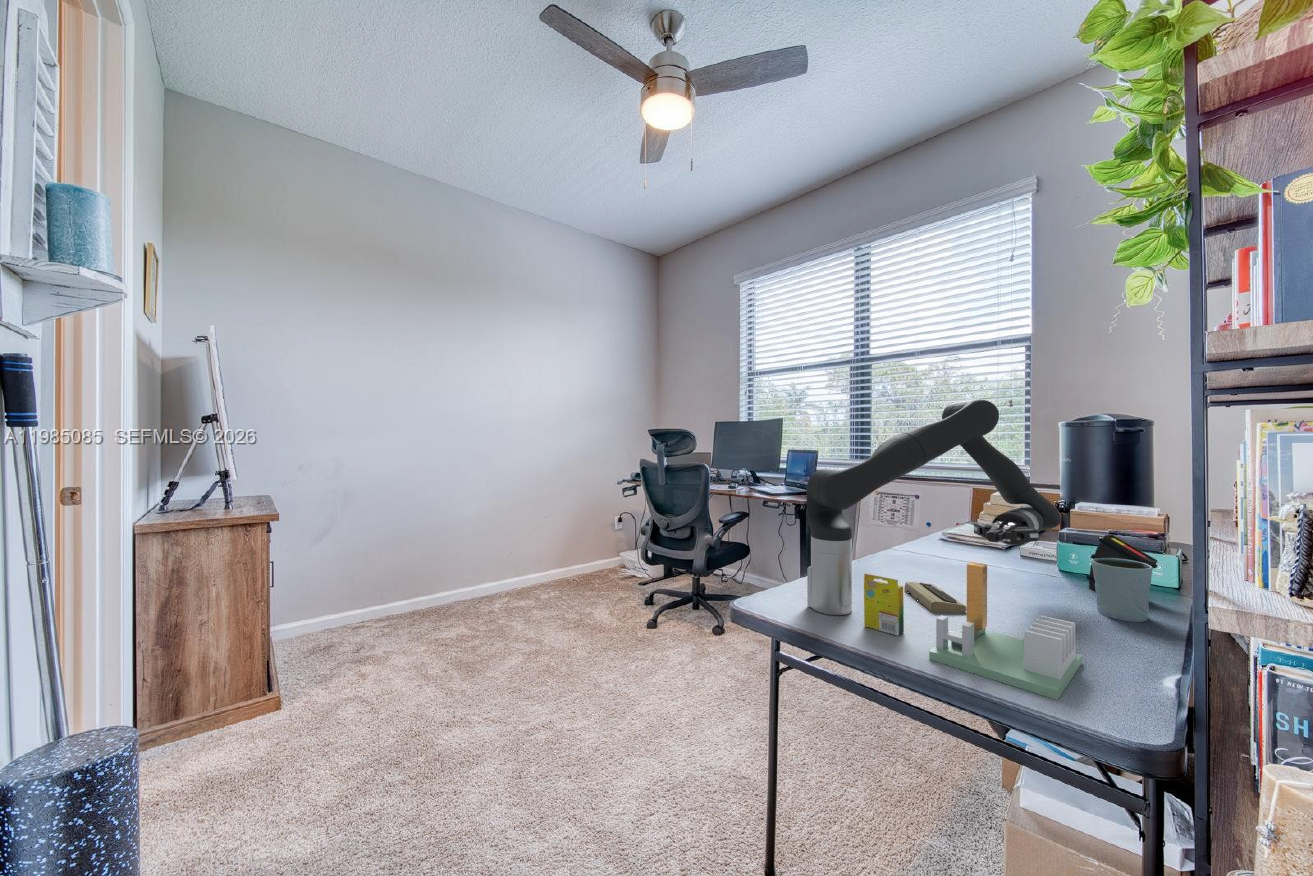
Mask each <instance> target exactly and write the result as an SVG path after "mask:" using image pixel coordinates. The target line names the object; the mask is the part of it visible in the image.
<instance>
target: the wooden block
mask: <svg viewBox="0 0 1313 876" xmlns="http://www.w3.org/2000/svg"><path fill="white" fill-rule="evenodd" d="M966 622H970V623H974V641H975V640H977V639H978V638H979V637H980V636H982V635H983V634H984V633H985V630H986V628H987V626H988V564H986V563H979V562H975V561H970V562H968V563H966ZM960 633H961V634H962V631H961V632H960ZM951 646H954V647H958V648H961V649H962V644H960V643H957V642H953V641H951Z"/></svg>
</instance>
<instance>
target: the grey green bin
mask: <svg viewBox="0 0 1313 876" xmlns="http://www.w3.org/2000/svg"><path fill="white" fill-rule="evenodd" d="M1091 564H1092V566H1093V573H1094V580H1095V582H1096V583H1095V589H1096V590H1095V594H1096V609H1097V612H1098V613H1099V614H1101V615H1103V616H1106V617H1108V618H1112V619H1115V620H1119V621H1126V622H1133V623H1134V622H1135V623H1140V622H1141V623H1142V622H1143V623H1144V622H1147V621H1148V620H1149V610H1150V608H1149V605H1150V604H1149V603H1150V597H1151V591H1150V588H1151V585H1152V576H1153V569H1154V568H1153V567H1152V566H1150V565H1148V564H1146V563H1142V562H1138V561H1132V560H1126V559H1117V558H1095V559H1092V558H1091ZM1152 568H1153V569H1152Z"/></svg>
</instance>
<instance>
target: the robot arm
mask: <svg viewBox="0 0 1313 876" xmlns="http://www.w3.org/2000/svg"><path fill="white" fill-rule="evenodd" d="M999 420H1000V412H999V409H998V408H997V406H996V405H995V404H994V403H993V402H992V401H989V400H986V399H982V398H980V399H979V398H976V399H975V398H974V399H968V400H963V401H956V402H952V403H950V404H948V405H946V407H945V408H944V409H943V411H942V414H941V420H937V421H933V422H930V423H927V424H924V425H920V426H916V427H914V428H913V427H912V428H911V429H908V430H905V431H903V432H901V433H898V434H897V435H895V436H893V437H890V438H889V439H887V440H885V441H884V442H882V443H880V445H878V447H877V448H876V449H875V450H874V452H873V453H872V454H871V456H870V457H868V458H867V459H866V460H864V461H862V462H860V463H858V464H856V465H854V466H852V467H851V466H850V467H849V468H845V469H842V470H835V469H827V468H821V469H818V470H816V471H814V472H813V473H812V474H811V475H810V476H809V478H808V481H807V485H806V491H805V492H806V496H805V497H806V515H807V523H808V525H809V528H810V566H808V567H807V569H806V570H807V571H806V573H807V576H806V577H807V578H806V579H807V580H806V581H807V591H806V592H807V594H806V595H807V599H806V600H807V603H806V604H807V605H806V606H807V607H809V608H811V609H812V610H814V611H816V612H817V613H820V614H825V615H829V616H830V615H831V616H843V615H849V614H850V613H852V611H853V601H852V599H853V598H852V597H853V596H852V595H853V587H852V586H853V574H852V573H853V571H852V570H853V567H852V566H853V549H852V547H853V541H852V540H853V538H852V537H853V532H852V527H851V525H850V524H849V522H848V521H847V520H846V518H845V516H844V515H843V514H844V513H843V510H847V509H849V508H852V507H853V506H854V505H856V504H858V503H859V502H860V501H862V500H863V499H864V498H866V497H868V496H870V495H871V494H872V493H874V492H875V491H876V490H878V489H880V488H881V487H883V486H886V485H887V484H889V483H892V482H894V481H896V480H897V479H900V478H901V477H903V476H905V475H908V474H909V473H911V472H913V471H915V470H917V469H918V468H921V467H923V466H925V465H926V464H928V463H929V462H931V461H933V460H936V459H937V458H939V457H940V456H943V455H944V454H945V453H947V452H949V451H951V450H952V449H954V448H955V447H958V446H960V447H961V448H962V449H963V450H964V451H965V452H966V453H967V455H968V456H969V457H971V458H972V460H974V462H976V464H977V465H978V466H979V467H980V468H981V469H982V470H983V472H984V473H985V475H986V476H987V477H988V478H989V480H990V481H991V482H992V484H993V486H994V487H995V488H996V490H997V492H998V493H999V494H1000V496H1001V497H1002V500H1004V501H1005V502H1006V504H1011V505H1019V506H1016V507H1014V508H1011V509H1010V510H1008V511H1004V512H1002V513H1000V514H998V515H996V516H995V517H994V518H993V520H992V522H989V523H986V524H984V523H980V522H978V521H976V522H973V534H974V535H977V536H979V537H980V538H983V539H986V540H988V542H990V543H999V542H1001V543H1004V544H1006V545H1010V546H1017V545H1021V544H1023V543H1025V542H1039V532H1042V531H1045V530H1050V529H1054V528H1057V527H1058V526H1059V525H1060V524H1061V521H1062V516H1061V513H1060V511H1059V510H1058V508H1057V507H1056V506H1055V505H1054V504H1053V503H1052V502H1051V501H1050V500H1049V499H1047V498H1046V497H1045V496H1043V495H1042V494H1041V493H1040V492H1039V491H1037V490H1036V488H1035V487H1034V486H1032V484H1031V483H1030V481H1029V479H1028V478H1027V477H1026V475H1025V473H1024V472H1023V471H1022V469H1021V468H1020V467H1019V466H1018V464H1017V463H1015V462H1014V461H1013V460H1012V459H1010V458H1009V457H1008V456H1006V455H1005V454H1004V453H1002V452H1001V451H999V450H998V449H997V448H996V447H994V446H993V445H992V444H991V443H990V442H989V441H988V440H987V439H986V438H985V435H988V434H989V433H991V432H992V431H993V430H994V429H995V428H996V427H997V424H998V422H999Z"/></svg>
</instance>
